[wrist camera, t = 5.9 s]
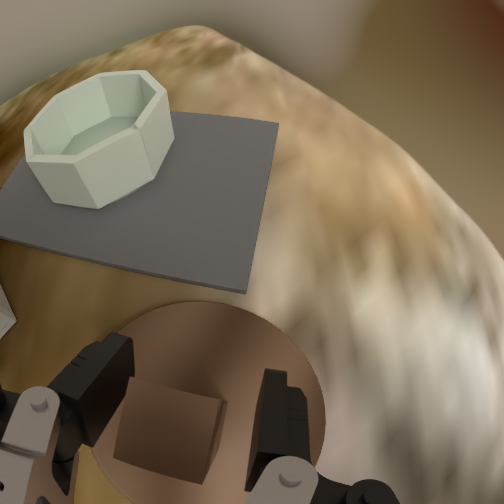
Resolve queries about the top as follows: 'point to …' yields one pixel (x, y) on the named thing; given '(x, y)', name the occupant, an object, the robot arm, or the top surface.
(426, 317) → the top surface
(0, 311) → the small box
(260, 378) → the lid
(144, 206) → the mat
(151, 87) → the bowl
